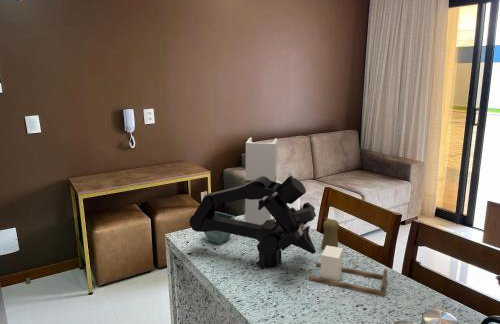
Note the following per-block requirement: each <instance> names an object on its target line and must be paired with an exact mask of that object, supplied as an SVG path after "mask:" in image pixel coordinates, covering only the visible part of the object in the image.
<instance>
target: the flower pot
mask: <svg viewBox="0 0 500 324" xmlns="http://www.w3.org/2000/svg"><path fill="white" fill-rule="evenodd" d="M215 213H216V214H217V215H219V216H220V217H224V218H229V219H234V220H236V217H235V215H231V214H228V213H224V212H220V211H215ZM203 233H204V235H205V237H206V239H207V240H208V241H209V242H212V243H216V244H219V245H220V244H222V243H224V242H226V241H227V240H229V238H230V236H231V235H232V234H230V233H225V232H220V231H209V232H203Z"/></svg>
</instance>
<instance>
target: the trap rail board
mask: <svg viewBox="0 0 500 324" xmlns="http://www.w3.org/2000/svg"><path fill="white" fill-rule="evenodd" d="M315 267H316V268H320V269H321V261H319V262H318V261H316V263H315ZM341 273H346V274H351V275H355V276H359V277H366V278H371V279H375V280H380V281H381V287H380V289H377V288H373V287H372V288H371V287H367V286H361V285H357V284H353V283H352V284H351V283H347V282H343V281H339V280H338V281H334V280H329V279H324V278H320V276H319V277H318V276H315V275H314V276H313V275H309V276H308V282H309V281H310V282H314V283H319V284H322V285H327V286H333V287H337V288H341V289H346V290H351V291H355V292H360V293H365V294H369V295H373V296H374V295H375V296H378V297H379V296H380V297H385V292H386V284H387V279H388V278H387V277H388V269H384V270H383V274H380V273H375V272H369V271H364V270H359V269H356V268H355V269H353V268H349V267H344V266H342V270H341Z"/></svg>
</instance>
